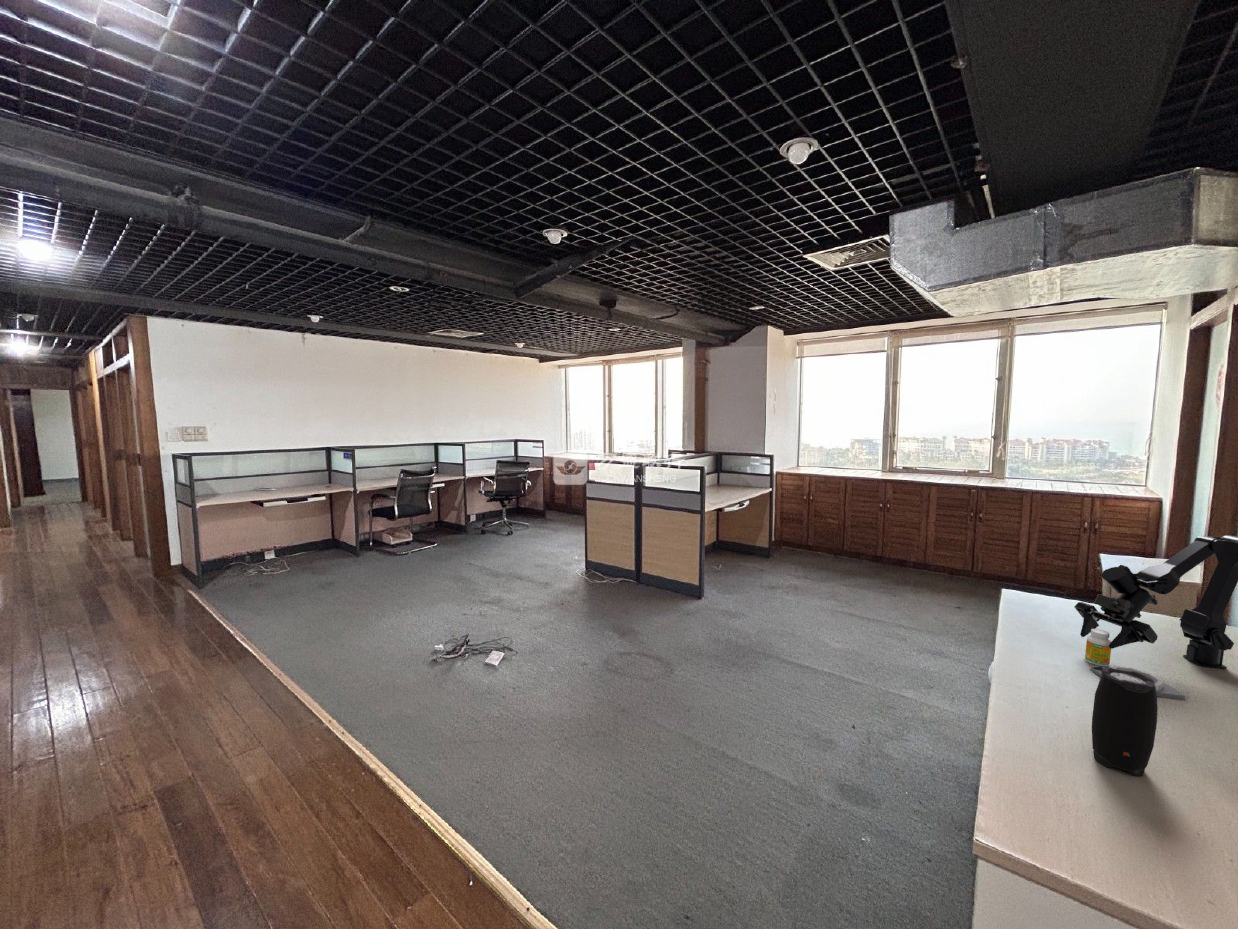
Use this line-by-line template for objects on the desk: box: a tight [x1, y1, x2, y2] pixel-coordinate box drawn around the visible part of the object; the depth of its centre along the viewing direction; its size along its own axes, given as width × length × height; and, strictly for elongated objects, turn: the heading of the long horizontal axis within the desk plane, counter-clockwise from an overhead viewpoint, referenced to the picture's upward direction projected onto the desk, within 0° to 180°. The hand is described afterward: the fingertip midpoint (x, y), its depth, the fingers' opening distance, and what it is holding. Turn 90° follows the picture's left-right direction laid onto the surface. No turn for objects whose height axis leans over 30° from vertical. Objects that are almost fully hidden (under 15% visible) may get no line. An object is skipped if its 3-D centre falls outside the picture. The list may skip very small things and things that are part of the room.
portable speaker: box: [1091, 666, 1159, 777], centre depth 104 cm, size 9×9×20 cm
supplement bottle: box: [1084, 628, 1112, 667], centre depth 150 cm, size 5×5×10 cm
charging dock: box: [1089, 665, 1186, 700], centre depth 138 cm, size 14×12×2 cm
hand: (1095, 641), depth 149 cm, fingers open, 7 cm apart
